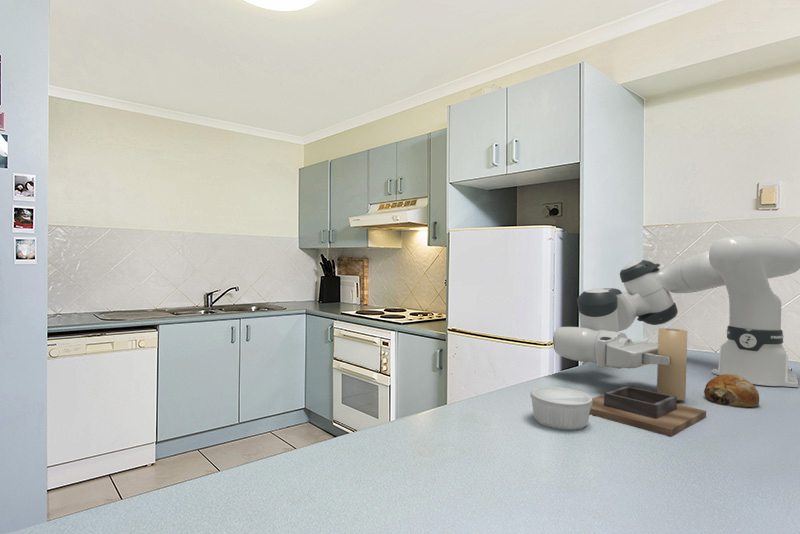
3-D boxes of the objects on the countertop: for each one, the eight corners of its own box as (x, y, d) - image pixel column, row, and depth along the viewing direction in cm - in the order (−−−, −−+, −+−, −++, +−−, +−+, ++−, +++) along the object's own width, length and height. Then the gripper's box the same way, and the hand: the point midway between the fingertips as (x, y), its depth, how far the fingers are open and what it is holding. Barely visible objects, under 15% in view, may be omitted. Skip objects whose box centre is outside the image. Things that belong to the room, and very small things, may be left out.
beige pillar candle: (662, 391, 107) (664, 327, 107) (689, 397, 103) (691, 330, 103) (652, 395, 103) (654, 328, 103) (680, 401, 99) (681, 332, 99)
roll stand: (616, 395, 106) (616, 379, 106) (706, 416, 92) (706, 398, 92) (575, 409, 94) (575, 391, 94) (671, 436, 80) (671, 415, 80)
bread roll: (762, 426, 98) (779, 392, 98) (718, 404, 98) (735, 371, 98) (729, 411, 108) (745, 381, 108) (690, 391, 108) (705, 361, 108)
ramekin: (571, 437, 79) (572, 407, 79) (517, 419, 88) (518, 392, 88) (603, 424, 86) (604, 396, 86) (550, 409, 95) (551, 383, 95)
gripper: (632, 357, 120) (692, 367, 109) (593, 367, 106) (657, 379, 96) (633, 333, 120) (693, 341, 109) (594, 340, 106) (658, 349, 96)
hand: (676, 359), depth 102 cm, fingers closed on beige pillar candle, 6 cm apart
